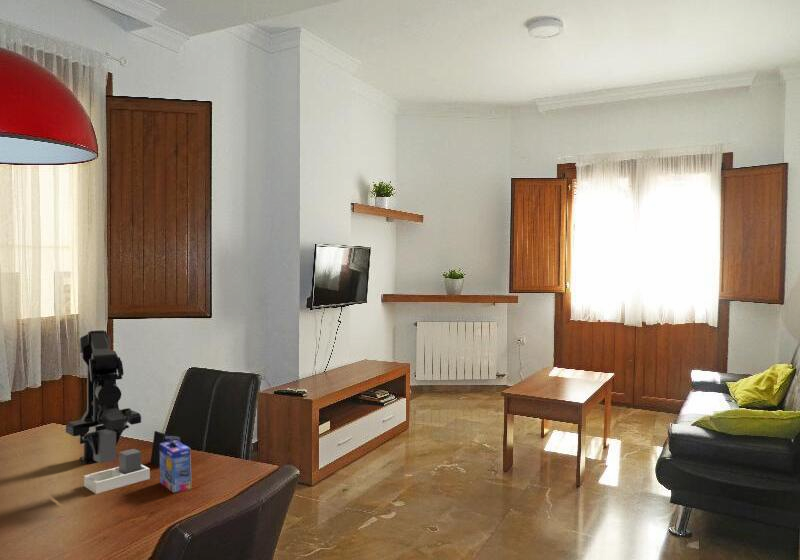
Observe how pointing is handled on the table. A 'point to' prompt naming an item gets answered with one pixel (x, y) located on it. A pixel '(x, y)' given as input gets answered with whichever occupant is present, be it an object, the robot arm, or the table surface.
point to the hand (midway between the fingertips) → (104, 452)
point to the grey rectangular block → (106, 446)
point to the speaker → (157, 440)
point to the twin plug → (129, 461)
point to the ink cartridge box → (175, 465)
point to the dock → (114, 479)
